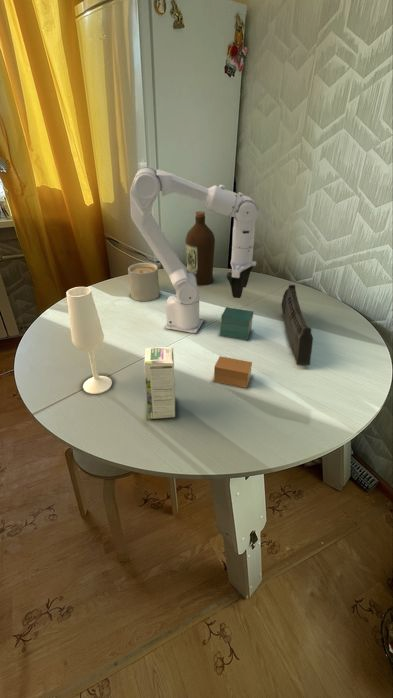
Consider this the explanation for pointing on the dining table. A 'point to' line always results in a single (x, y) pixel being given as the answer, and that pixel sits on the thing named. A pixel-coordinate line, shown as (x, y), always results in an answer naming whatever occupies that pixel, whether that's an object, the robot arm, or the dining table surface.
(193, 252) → the olive oil
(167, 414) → the syrup box
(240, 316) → the dark teal flat block
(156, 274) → the coffee mug
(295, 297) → the magazine
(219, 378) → the brown wooden block
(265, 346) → the dining table surface
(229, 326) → the dark green block
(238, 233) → the robot arm
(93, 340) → the champagne flute
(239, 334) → the dark green block
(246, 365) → the orange brown block
